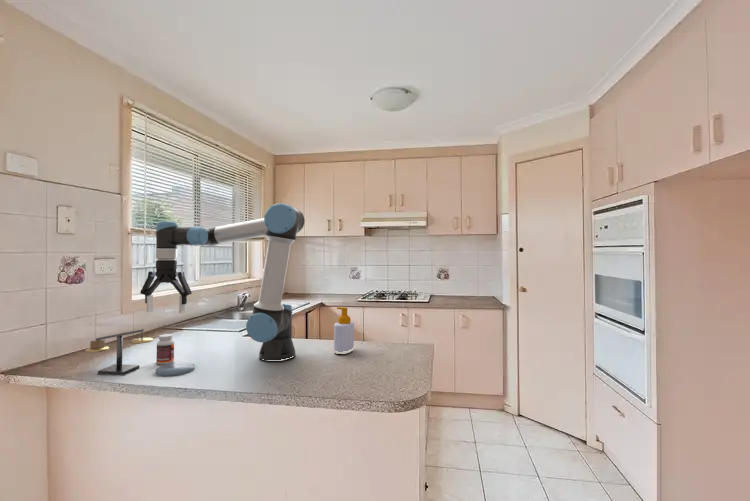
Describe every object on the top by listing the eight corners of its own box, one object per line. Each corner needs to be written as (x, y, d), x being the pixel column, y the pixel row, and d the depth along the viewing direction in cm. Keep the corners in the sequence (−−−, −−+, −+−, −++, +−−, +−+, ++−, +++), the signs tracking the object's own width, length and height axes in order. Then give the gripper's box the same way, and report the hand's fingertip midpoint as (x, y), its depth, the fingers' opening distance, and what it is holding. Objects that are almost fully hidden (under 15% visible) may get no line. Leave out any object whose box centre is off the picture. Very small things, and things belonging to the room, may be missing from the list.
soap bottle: (341, 347, 177) (341, 305, 177) (357, 349, 175) (357, 306, 175) (329, 354, 165) (330, 309, 165) (346, 356, 162) (347, 310, 162)
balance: (157, 368, 142) (158, 327, 142) (142, 375, 134) (143, 331, 134) (97, 366, 143) (97, 325, 143) (79, 373, 135) (79, 329, 135)
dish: (201, 365, 146) (201, 362, 146) (181, 377, 133) (181, 373, 133) (169, 364, 147) (169, 361, 147) (147, 375, 134) (147, 372, 134)
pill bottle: (174, 363, 149) (175, 336, 149) (156, 365, 145) (157, 337, 145) (173, 359, 154) (173, 333, 154) (155, 361, 151) (156, 334, 151)
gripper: (201, 259, 153) (200, 311, 153) (143, 259, 154) (142, 309, 154) (190, 260, 145) (190, 314, 145) (130, 259, 147) (129, 312, 147)
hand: (165, 312), depth 150 cm, fingers open, 13 cm apart
